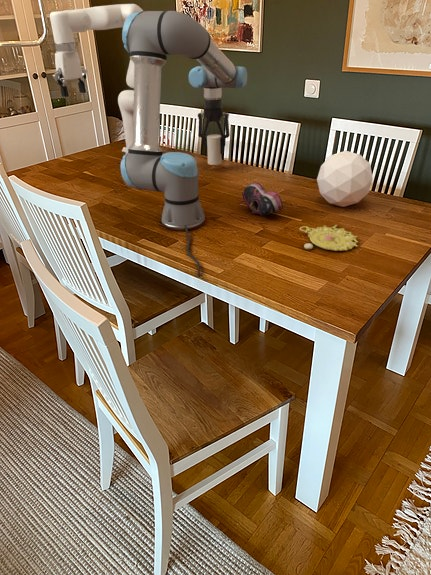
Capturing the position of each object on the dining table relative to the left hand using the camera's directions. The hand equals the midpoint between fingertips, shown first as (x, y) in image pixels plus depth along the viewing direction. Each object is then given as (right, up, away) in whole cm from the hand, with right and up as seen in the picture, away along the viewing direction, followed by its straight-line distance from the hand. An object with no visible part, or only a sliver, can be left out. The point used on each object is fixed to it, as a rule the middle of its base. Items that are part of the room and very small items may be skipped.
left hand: (74, 94), depth 184 cm
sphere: (+106, -49, -18) cm, 118 cm away
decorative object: (+95, -65, -42) cm, 123 cm away
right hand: (+58, -20, +16) cm, 63 cm away
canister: (+58, -23, +18) cm, 65 cm away
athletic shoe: (+74, -52, -21) cm, 93 cm away
